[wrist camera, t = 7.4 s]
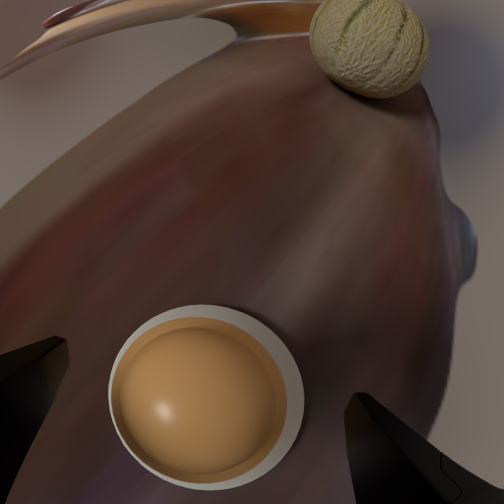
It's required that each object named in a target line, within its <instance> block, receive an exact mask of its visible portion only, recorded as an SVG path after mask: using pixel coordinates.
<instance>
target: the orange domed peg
mask: <svg viewBox="0 0 504 504" xmlns="http://www.w3.org/2000/svg"><path fill="white" fill-rule="evenodd" d="M111 405H112V411H113V416H114V419H115V423H116V426H117V428H118V430H119V432H120V435H121V436H122V438H123V440H124V441H125V443H126V444H127V446H128V447H129V448H130V450H131V451H132V452H133V453H134V454H135V455H136V456H137V457H138V458H139V459H140V460H141V461H142V462H143V463H145V464H146V465H147V466H149V467H150V468H152V469H153V470H155V471H157V472H159V473H160V474H162V475H164V476H167V477H169V478H172V479H175V480H179V481H183V482H188V483H196V484H210V483H218V482H223V481H227V480H230V479H233V478H236V477H238V476H241V475H243V474H245V473H246V472H248V471H250V470H251V469H253V468H254V467H256V466H257V465H258V464H259V463H261V462H262V461H263V460H264V459H265V458H266V457H267V455H268V454H269V453H270V452H271V451H272V449H273V448H274V446H275V445H276V443H277V441H278V439H279V437H280V435H281V433H282V430H283V427H284V424H285V419H286V414H287V395H286V388H285V384H284V380H283V377H282V375H281V372H280V370H279V368H278V366H277V364H276V362H275V360H274V359H273V358H272V356H271V355H270V353H269V352H268V351H267V350H266V349H265V347H264V346H263V345H262V344H261V343H260V342H259V341H258V340H256V339H255V338H254V337H253V336H251V335H250V334H249V333H247V332H246V331H244V330H242V329H240V328H239V327H237V326H235V325H232V324H230V323H227V322H224V321H221V320H217V319H213V318H206V317H184V318H177V319H173V320H169V321H166V322H164V323H161V324H158V325H156V326H155V327H153V328H151V329H149V330H147V331H146V332H145V333H143V334H142V335H140V336H139V337H138V338H137V339H136V340H135V341H134V342H133V343H132V344H131V345H130V346H129V348H128V349H127V350H126V351H125V353H124V354H123V356H122V358H121V359H120V361H119V363H118V366H117V368H116V370H115V374H114V377H113V381H112V389H111Z"/></svg>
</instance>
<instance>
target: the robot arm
mask: <svg viewBox="0 0 504 504" xmlns="http://www.w3.org/2000/svg"><path fill="white" fill-rule="evenodd" d="M69 366H70V355H69V348H68V343H67V340H66V339H64V338H61V337H58V336H53V337H50V338H47V339H44V340H41V341H39V342H36V343H33V344H30V345H27V346H24V347H22V348H19V349H16V350H13V351H10V352H7V353H4V354H2V355H0V504H5V502H6V500H7V498H6V497H8V494H9V492H10V490H11V487H12V485H13V483H14V480H15V478H16V476H17V474H18V472H19V469H20V467H21V465H22V463H23V461H24V459H25V457H26V455H27V453H28V451H29V448H30V446H31V444H32V442H33V441H34V439H35V437H36V435H37V433H38V431H39V429H40V427H41V425H42V423H43V421H44V419H45V418H46V416H47V414H48V412H49V410H50V409H51V407H52V405H53V403H54V401H55V398H56V396H57V394H58V391H59V389H60V387H61V384H62V382H63V380H64V377H65V375H66V373H67V371H68V368H69ZM344 425H345V437H346V449H347V457H348V463H349V468H350V473H351V478H352V483H353V488H354V494H355V499H356V504H504V489H500V488H497V487H495V486H493V485H491V484H489V483H488V482H486V481H484V480H483V479H481V478H479V477H477V476H476V475H474V474H473V473H471V472H469V471H468V470H466V469H465V468H463V467H461V466H460V465H458V464H457V463H456V462H454V461H453V460H451V459H450V458H449V457H447V456H446V455H444V454H443V453H442V452H440V451H439V450H438V449H437V448H436V447H434V446H433V445H432V444H431V443H429V442H428V441H427V440H425V439H424V438H423V437H422V436H420V435H419V434H418V433H416V432H415V431H414V430H413V429H411V428H410V427H409V426H408V425H406V424H405V423H404V422H403V421H401V420H400V419H399V418H398V417H396V416H395V415H394V414H393V413H391V412H390V411H389V410H388V409H386V408H385V407H384V406H383V405H382V404H380V403H379V402H378V401H377V400H375V399H374V398H373V397H372V396H371V395H369V394H368V393H365V392H356V393H354V394H353V396H352V397H351V399H350V401H349V403H348V405H347V407H346V409H345V411H344Z"/></svg>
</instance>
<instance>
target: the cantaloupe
mask: <svg viewBox="0 0 504 504" xmlns="http://www.w3.org/2000/svg"><path fill="white" fill-rule="evenodd" d="M309 40H310V47H311V49H312V54H313V56H314V58H315V60H316V62H317V64H318V66H319V67H320V68H321V70H322V71H323V72H324V74H325V75H326V76H327V77H329V78H330V79H331V80H333V81H334V82H336V83H337V84H339V85H340V86H341V87H343V88H344V89H346V90H349V91H352V92H355V93H357V94H359V95H362V96H365V97H370V98H390V97H393V96H396V95H399V94H401V93H403V92H405V91H407V90H409V89H410V88H411V87H412V86H413V85H415V84H416V83H417V82H418V81H419V80H420V79H421V77H422V75H423V74H424V71H425V70H426V67H427V65H428V59H429V40H428V36H427V32H426V29H425V27H424V25H423V23H422V21H421V20H420V18H419V17H418V16H417V15H416V13H414V12H413V11H412V10H411V9H410V8H409V7H408V6H407V5H406V4H404V3H403V2H401V1H400V0H325V1H324V2H323V3H322V4H321V5H320V6H319V8H318V9H317V11H316V12H315V13H314V16H313V19H312V21H311V25H310V31H309Z"/></svg>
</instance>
